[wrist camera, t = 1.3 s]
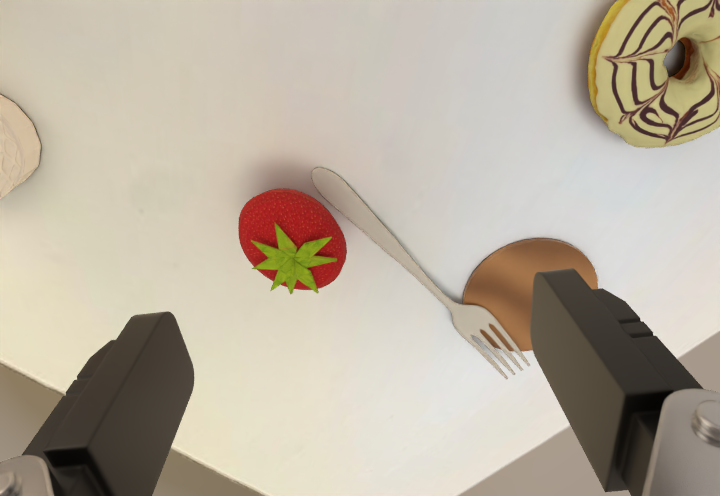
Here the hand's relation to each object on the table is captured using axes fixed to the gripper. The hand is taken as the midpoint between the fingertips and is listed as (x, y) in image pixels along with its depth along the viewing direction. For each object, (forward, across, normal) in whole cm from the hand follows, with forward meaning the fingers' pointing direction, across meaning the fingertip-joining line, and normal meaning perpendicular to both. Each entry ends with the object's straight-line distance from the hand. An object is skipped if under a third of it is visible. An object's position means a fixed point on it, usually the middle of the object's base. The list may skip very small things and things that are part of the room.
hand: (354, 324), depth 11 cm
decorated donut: (+24, -20, -1) cm, 32 cm away
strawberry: (+24, +5, +7) cm, 26 cm away
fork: (+24, -4, +14) cm, 28 cm away
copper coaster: (+24, -13, +17) cm, 32 cm away
